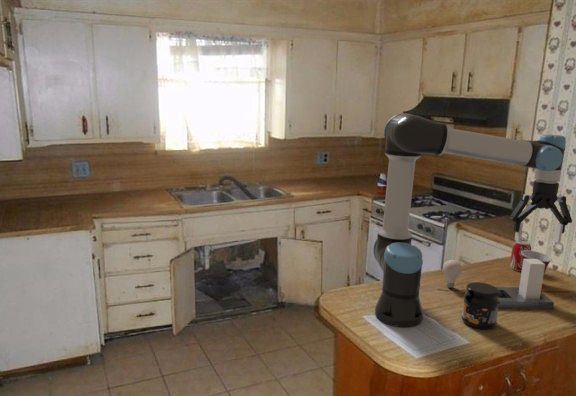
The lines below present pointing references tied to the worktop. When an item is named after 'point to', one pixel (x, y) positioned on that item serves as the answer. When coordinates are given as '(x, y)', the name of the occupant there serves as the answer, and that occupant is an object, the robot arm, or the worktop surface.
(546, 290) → the worktop surface
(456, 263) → the light bulb
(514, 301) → the rail plate
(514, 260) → the soda can
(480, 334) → the worktop surface
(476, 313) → the supplement container
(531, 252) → the plastic cup
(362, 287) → the worktop surface
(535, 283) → the square post
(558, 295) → the worktop surface
